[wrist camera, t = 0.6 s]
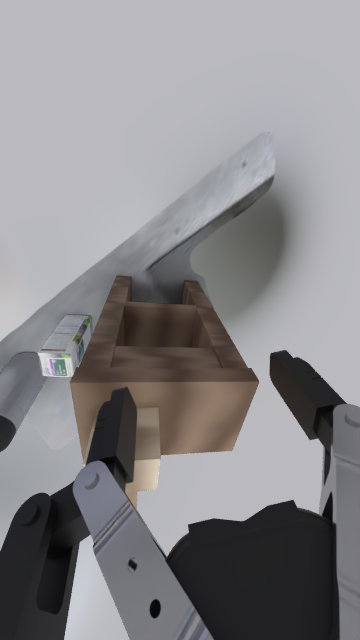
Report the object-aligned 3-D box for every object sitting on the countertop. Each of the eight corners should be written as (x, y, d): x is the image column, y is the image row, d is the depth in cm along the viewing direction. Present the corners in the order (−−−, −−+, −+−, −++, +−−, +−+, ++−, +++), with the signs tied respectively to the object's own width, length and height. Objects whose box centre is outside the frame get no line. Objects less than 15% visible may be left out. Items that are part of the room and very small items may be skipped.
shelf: (118, 321, 52) (83, 459, 25) (116, 273, 47) (69, 382, 19) (190, 324, 55) (232, 450, 28) (197, 279, 50) (259, 381, 22)
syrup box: (92, 335, 53) (75, 377, 41) (67, 334, 52) (41, 377, 40) (91, 315, 51) (72, 353, 38) (64, 313, 50) (35, 353, 37)
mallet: (106, 504, 30) (98, 555, 26) (96, 409, 21) (82, 463, 17) (149, 500, 31) (149, 549, 27) (158, 407, 22) (160, 458, 18)
